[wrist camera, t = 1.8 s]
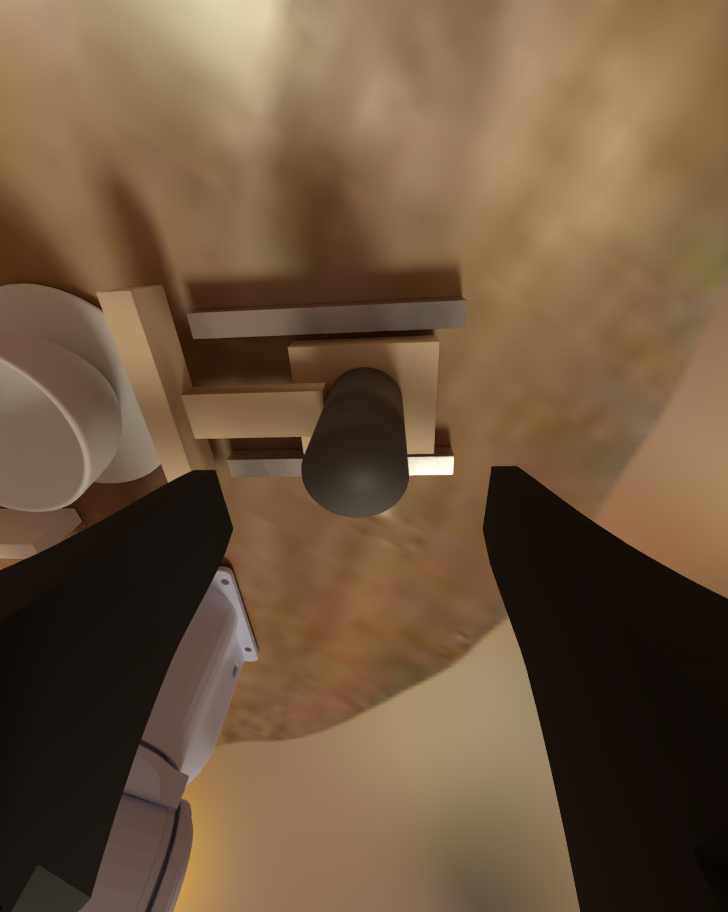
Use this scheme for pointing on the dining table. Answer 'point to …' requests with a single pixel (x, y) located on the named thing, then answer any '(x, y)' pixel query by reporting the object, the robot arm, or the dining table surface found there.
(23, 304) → the teacup
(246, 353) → the dining table surface
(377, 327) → the rail
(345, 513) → the pushrod
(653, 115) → the dining table surface
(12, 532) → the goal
